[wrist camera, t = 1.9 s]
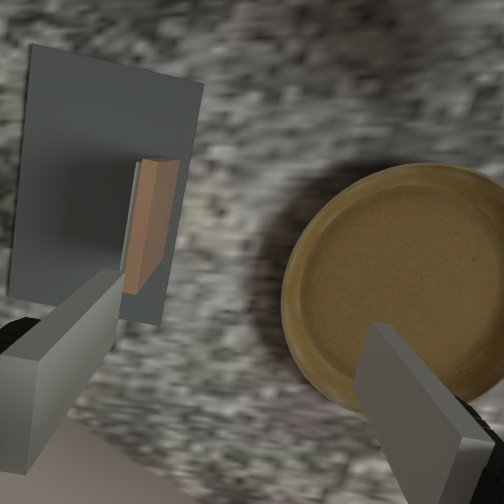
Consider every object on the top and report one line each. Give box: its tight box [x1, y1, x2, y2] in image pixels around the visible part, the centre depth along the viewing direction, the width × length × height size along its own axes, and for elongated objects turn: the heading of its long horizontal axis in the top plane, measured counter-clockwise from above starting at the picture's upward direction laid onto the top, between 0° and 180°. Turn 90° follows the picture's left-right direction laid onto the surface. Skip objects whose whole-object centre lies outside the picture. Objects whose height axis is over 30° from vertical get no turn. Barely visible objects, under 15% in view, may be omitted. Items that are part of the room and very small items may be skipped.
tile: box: [120, 157, 180, 295], centre depth 32 cm, size 9×1×10 cm, turn 168°
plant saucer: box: [281, 162, 504, 416], centre depth 39 cm, size 24×24×3 cm
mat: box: [8, 43, 204, 326], centre depth 37 cm, size 22×14×1 cm, turn 168°
